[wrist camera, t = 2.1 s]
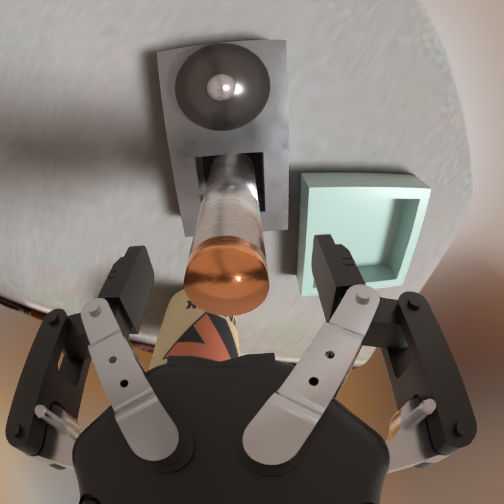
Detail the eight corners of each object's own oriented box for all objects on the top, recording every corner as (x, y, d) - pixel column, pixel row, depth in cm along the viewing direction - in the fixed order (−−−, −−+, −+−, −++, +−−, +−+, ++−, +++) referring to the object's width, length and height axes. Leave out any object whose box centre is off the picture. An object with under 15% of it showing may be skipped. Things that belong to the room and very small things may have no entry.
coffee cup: (258, 300, 31) (266, 402, 21) (218, 342, 35) (216, 428, 26) (179, 267, 27) (157, 374, 18) (151, 317, 32) (131, 407, 22)
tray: (301, 172, 22) (309, 187, 20) (414, 174, 22) (431, 188, 20) (296, 275, 29) (301, 296, 26) (391, 267, 29) (401, 285, 26)
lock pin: (209, 152, 21) (175, 257, 10) (252, 148, 21) (268, 250, 10) (213, 191, 23) (192, 317, 12) (254, 188, 23) (269, 313, 12)
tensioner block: (167, 54, 16) (147, 50, 12) (279, 44, 16) (290, 36, 12) (190, 217, 24) (181, 250, 20) (282, 211, 24) (291, 243, 20)
